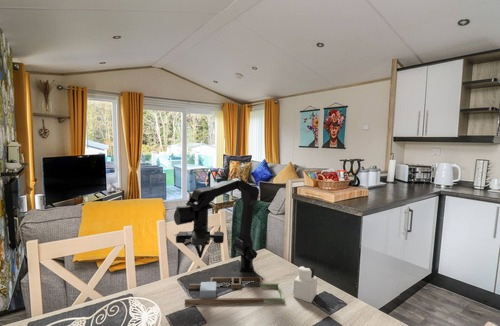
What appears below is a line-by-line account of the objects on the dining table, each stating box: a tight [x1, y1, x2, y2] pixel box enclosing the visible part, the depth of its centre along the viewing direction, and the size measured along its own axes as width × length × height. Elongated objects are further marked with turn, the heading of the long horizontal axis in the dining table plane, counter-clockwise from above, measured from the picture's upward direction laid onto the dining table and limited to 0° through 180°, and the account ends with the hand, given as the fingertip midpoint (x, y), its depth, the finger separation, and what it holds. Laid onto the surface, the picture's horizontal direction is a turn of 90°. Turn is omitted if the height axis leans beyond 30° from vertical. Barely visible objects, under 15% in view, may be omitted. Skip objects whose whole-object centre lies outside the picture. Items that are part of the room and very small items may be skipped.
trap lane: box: [184, 276, 285, 305], centre depth 104 cm, size 16×37×2 cm, turn 94°
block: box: [199, 281, 217, 299], centre depth 100 cm, size 6×6×4 cm
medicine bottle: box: [293, 263, 318, 304], centre depth 102 cm, size 7×7×12 cm
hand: (200, 257), depth 106 cm, fingers closed
